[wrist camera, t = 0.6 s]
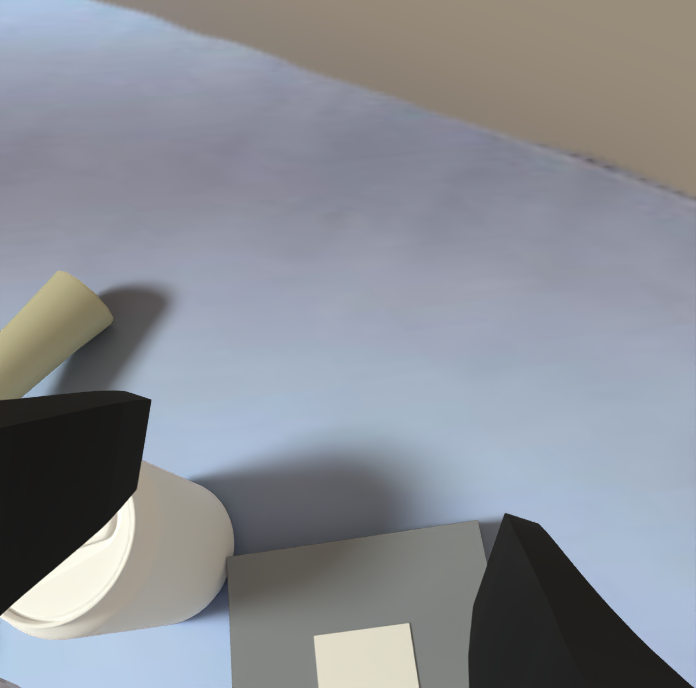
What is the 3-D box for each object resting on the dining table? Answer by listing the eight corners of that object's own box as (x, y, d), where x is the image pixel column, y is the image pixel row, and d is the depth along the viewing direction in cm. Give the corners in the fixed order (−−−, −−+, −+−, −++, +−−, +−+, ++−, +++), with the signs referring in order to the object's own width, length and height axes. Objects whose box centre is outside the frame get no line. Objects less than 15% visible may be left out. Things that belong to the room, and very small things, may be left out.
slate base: (538, 827, 28) (545, 845, 26) (252, 857, 29) (239, 876, 27) (475, 523, 33) (477, 519, 31) (237, 558, 34) (226, 556, 33)
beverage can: (96, 513, 37) (-48, 481, 26) (216, 461, 37) (123, 408, 26) (124, 648, 33) (-27, 678, 22) (255, 590, 34) (168, 592, 23)
